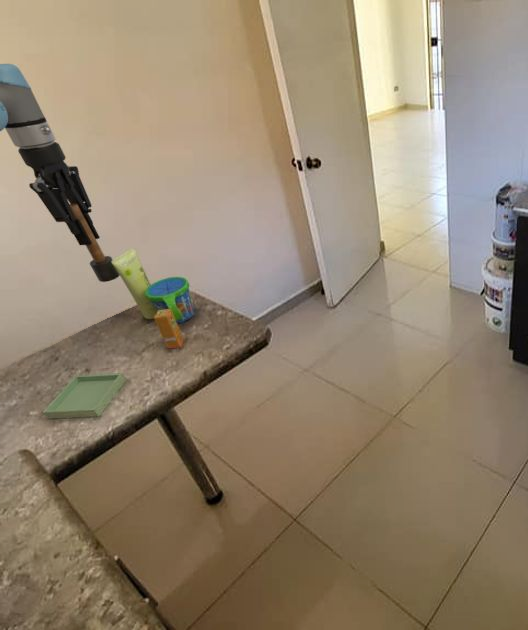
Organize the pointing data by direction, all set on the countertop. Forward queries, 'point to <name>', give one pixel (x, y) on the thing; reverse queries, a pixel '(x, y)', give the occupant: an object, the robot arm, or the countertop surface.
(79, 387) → the tray
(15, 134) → the robot arm
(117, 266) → the tube
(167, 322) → the supplement box
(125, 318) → the countertop surface
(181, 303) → the snack cup
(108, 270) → the brush
